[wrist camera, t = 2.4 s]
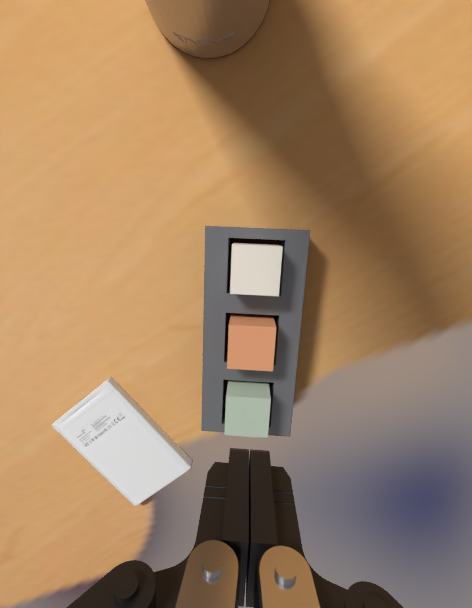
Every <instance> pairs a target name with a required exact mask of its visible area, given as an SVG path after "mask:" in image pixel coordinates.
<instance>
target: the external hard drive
mask: <svg viewBox="0 0 472 608" xmlns="http://www.w3.org/2000/svg"><path fill="white" fill-rule="evenodd" d="M52 426H53V427H54V428H55V429H56V430H57V431H58V432H59V433H60V434H61V435H62V436H63V437H64V438H65V439H66V440H67V441H68V442H69V443H70V444H71V445H72V446H73V447H74V448H75V449H76V450H77V451H78V452H79V453H81V454H82V455H83V456H84V457H85V458H86V459H87V460H88V461H89V462H90V463H91V464H92V465H93V466H94V467H95V468H96V469H97V470H98V471H99V472H100V473H101V474H102V475H103V476H104V477H105V478H106V479H107V480H108V481H109V482H110V483H111V484H112V485H113V486H114V487H115V488H117V489H118V490H119V491H120V492H121V493H122V494H123V495H124V496H125V497H126V498H127V499H128V500H129V501H130V502H131V503H132V504H133V505H134V506H136V505H138V504H140V503H141V502H143V501H144V500H146V499H147V498H149V497H150V496H152V495H153V494H154V493H156V492H157V491H159V490H160V489H162V488H163V487H165V486H167V485H168V484H169V483H171V482H172V481H174V480H175V479H176V478H178V477H180V476H181V475H182V474H184V473H185V472H187V471H188V470H189V469H190V468H191V465H192V462H193V459H192V458H191V457H190V456H189V455H188V454H187V453H186V452H185V451H184V450H183V449H182V448H181V447H180V446H179V445H176V444H175V443H174V442H173V441H172V439H171V438H170V437H169V436H168V435H167V434H166V433H165V432H164V431H163V430H162V429H161V428H160V427H159V426H158V425H157V424H156V423H155V422H154V421H153V420H152V419H151V418H150V417H149V416H148V415H147V413H146V412H145V411H144V410H143V409H142V408H141V407H140V406H139V405H138V404H137V403H136V402H135V401H134V400H133V399H132V398H131V397H130V396H129V395H128V394H127V393H126V392H125V391H124V390H123V389H122V387H121V386H120V385H119V384H118V383H117V382H116V381H115V380H114V379H113V378H112V377H110V378H109V379H107V380H106V381H105V382H104V383H102V384H101V385H100V386H99V387H97V388H96V389H95V390H94V391H92V392H91V393H90V394H89V395H88V396H86V397H85V398H84V399H83V400H82V401H80V402H79V403H77V404H76V405H75V406H74V407H72V408H71V409H70V410H69V411H67V412H66V413H65V414H64V415H62V416H61V417H60V418H59V419H57V420H56V421H55V422H54V423H53V424H52Z"/></svg>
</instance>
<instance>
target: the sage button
mask: <svg viewBox="0 0 472 608" xmlns="http://www.w3.org/2000/svg"><path fill="white" fill-rule="evenodd" d="M270 403H271V396H270V389H269V382H256V381H239V380H228V385H227V392H226V408H225V433H224V435H229V436H244V437H259V438H268V429H269V416H270Z"/></svg>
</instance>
